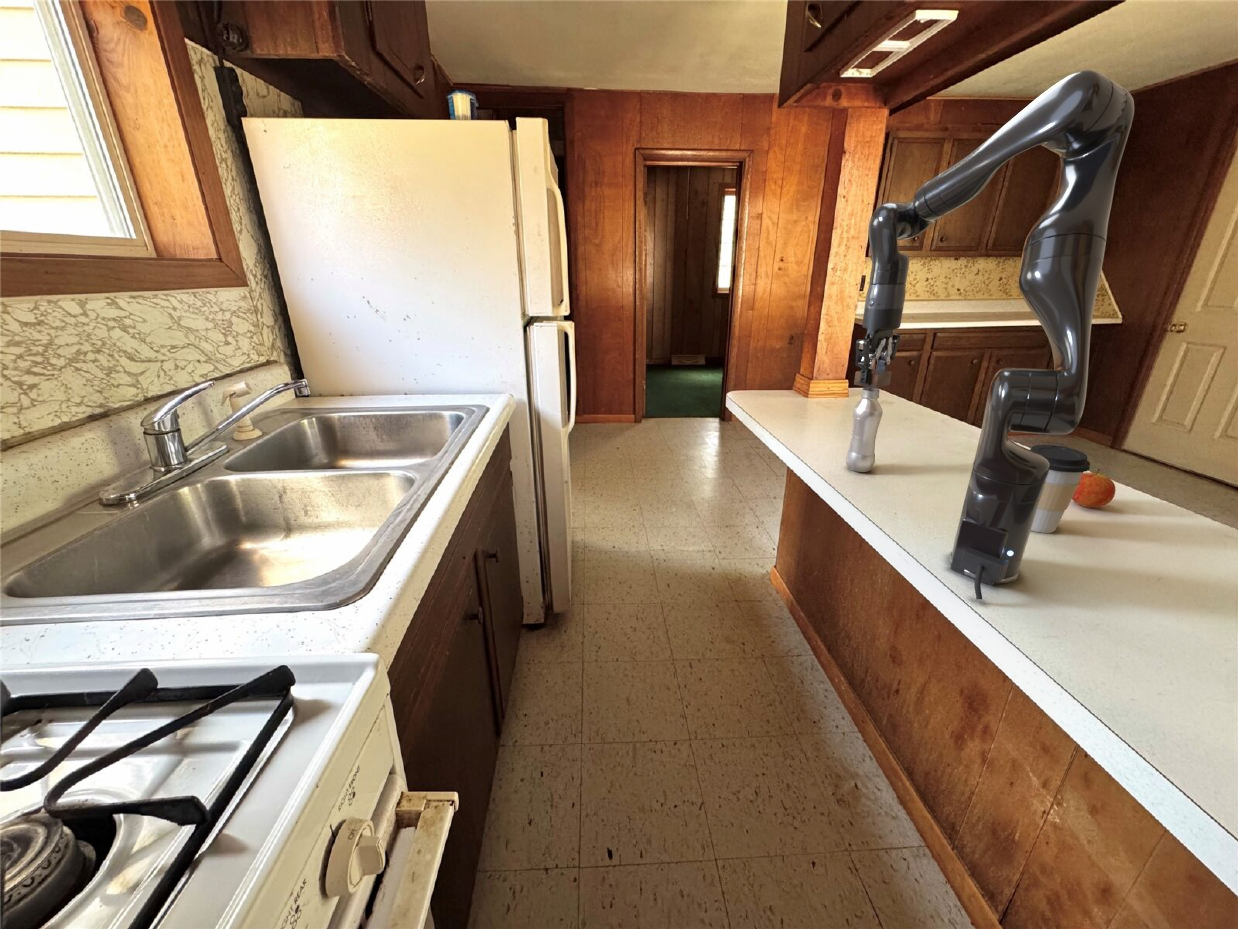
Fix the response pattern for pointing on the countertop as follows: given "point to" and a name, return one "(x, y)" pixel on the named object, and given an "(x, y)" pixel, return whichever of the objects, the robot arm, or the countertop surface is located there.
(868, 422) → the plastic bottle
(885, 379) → the walnut block
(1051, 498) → the coffee cup
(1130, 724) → the countertop surface
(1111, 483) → the fruit
